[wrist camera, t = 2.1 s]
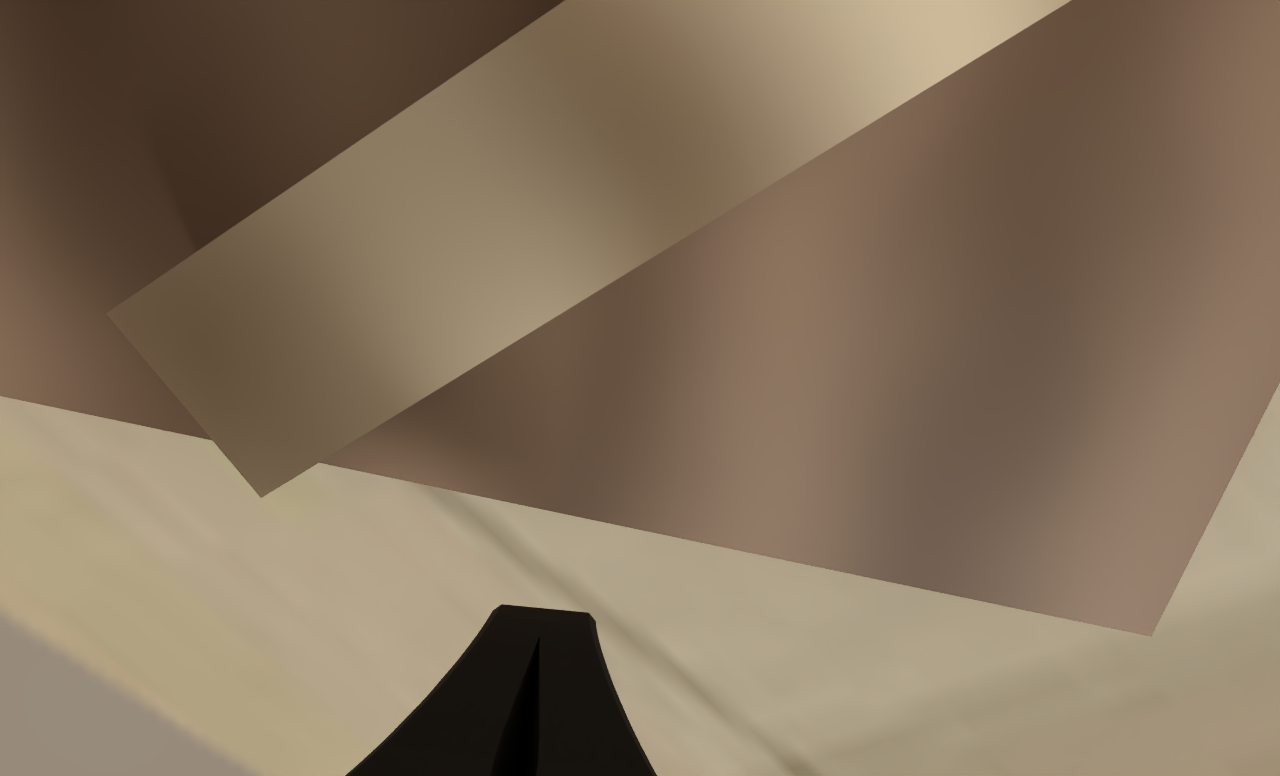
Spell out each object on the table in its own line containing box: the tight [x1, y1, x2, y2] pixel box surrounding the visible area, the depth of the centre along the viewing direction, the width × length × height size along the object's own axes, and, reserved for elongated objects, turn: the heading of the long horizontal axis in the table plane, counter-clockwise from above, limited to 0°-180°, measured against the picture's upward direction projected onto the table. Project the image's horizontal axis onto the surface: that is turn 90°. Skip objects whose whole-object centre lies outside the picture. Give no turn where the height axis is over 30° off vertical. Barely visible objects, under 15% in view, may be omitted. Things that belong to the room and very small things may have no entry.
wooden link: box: [106, 0, 1071, 498], centre depth 9 cm, size 18×4×5 cm, turn 121°
